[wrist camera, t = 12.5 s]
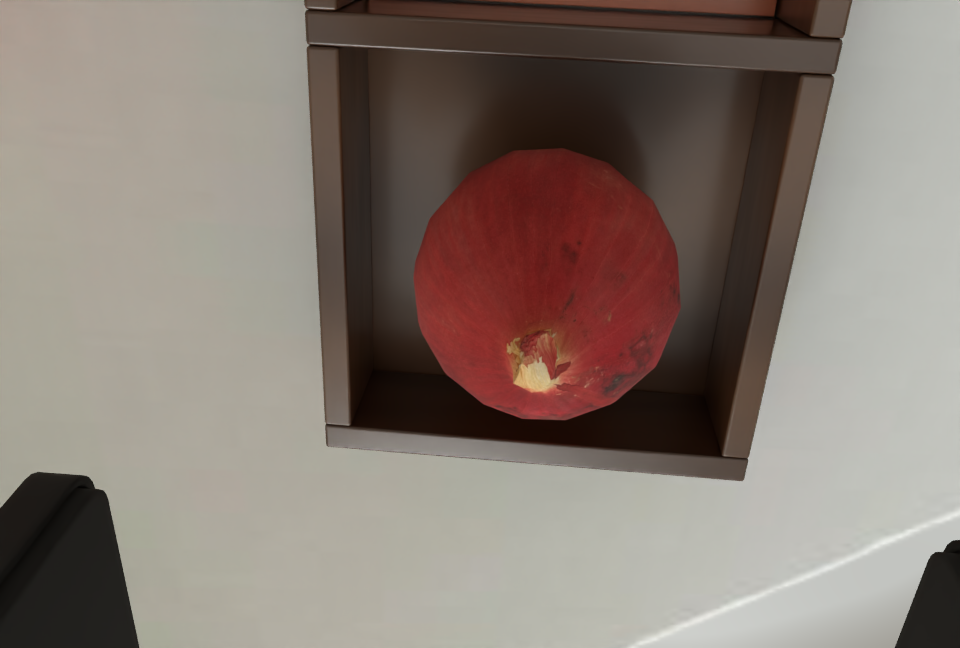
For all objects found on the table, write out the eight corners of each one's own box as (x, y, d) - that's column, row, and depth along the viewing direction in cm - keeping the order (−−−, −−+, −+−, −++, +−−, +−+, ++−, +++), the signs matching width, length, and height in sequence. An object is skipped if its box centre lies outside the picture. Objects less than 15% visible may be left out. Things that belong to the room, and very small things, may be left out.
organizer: (326, -584, 16) (267, -708, 13) (917, -576, 15) (1013, -701, 12) (355, 377, 25) (325, 447, 22) (719, 406, 25) (744, 482, 21)
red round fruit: (709, 219, 22) (783, 377, 14) (556, 364, 24) (554, 562, 17) (538, 65, 20) (527, 156, 13) (393, 234, 22) (316, 390, 15)
